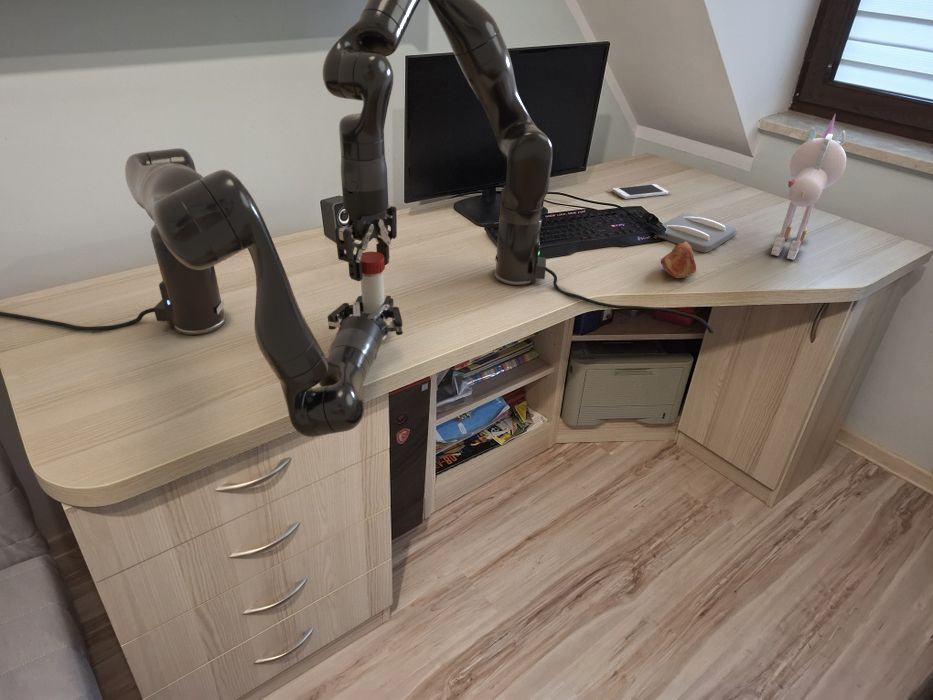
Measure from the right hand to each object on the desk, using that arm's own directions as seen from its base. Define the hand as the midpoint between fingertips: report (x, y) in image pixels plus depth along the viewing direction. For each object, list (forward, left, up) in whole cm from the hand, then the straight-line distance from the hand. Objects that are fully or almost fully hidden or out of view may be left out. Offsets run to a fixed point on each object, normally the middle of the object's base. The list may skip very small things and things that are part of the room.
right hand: (370, 271), depth 115 cm
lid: (0, 0, +3) cm, 3 cm away
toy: (-97, -64, -14) cm, 117 cm away
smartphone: (-61, -92, -14) cm, 111 cm away
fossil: (-63, -38, -14) cm, 75 cm away
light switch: (-72, -61, -14) cm, 95 cm away
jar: (0, 0, -14) cm, 14 cm away
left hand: (0, -2, -7) cm, 7 cm away
